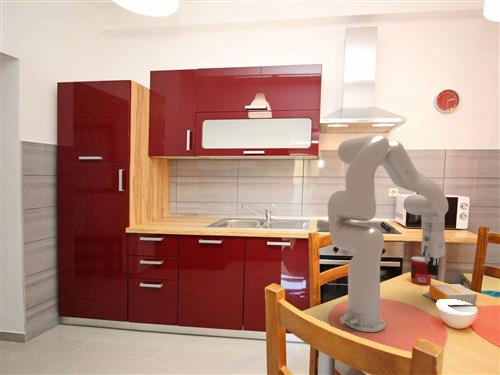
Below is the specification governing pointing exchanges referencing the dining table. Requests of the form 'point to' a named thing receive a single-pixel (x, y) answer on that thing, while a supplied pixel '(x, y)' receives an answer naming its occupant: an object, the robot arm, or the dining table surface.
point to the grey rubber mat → (427, 295)
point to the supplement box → (452, 293)
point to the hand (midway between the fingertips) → (432, 274)
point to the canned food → (419, 271)
